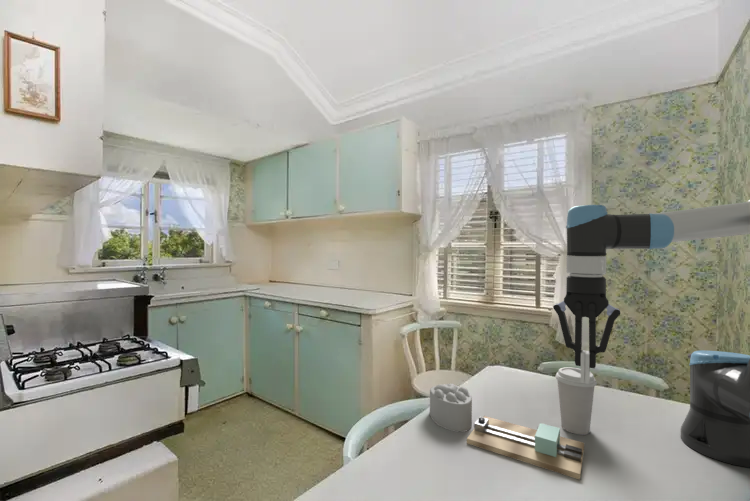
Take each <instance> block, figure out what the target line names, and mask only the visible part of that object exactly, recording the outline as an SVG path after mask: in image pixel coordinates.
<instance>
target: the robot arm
mask: <svg viewBox="0 0 750 501" xmlns="http://www.w3.org/2000/svg"><path fill="white" fill-rule="evenodd" d="M566 216H567V217H566V226H565V229H566V273H567V274H569V275H567V276H566V286H565V287H566V288H565V289H566V290H565V291H566V294H565V296H564V298H563V300H562V301H560V302H559V303H555V304H553V307H552V308H553V310H554V311H555V313H556V314H557V316H558V320H559V323H560V324H559V325H560V328H561V333H562V336H563V340H564V344H565V346H566V348H568V349H571V350H573V351H574V364H575V366H576V367H577V366H578V367H580V369H581V383H586V384H589V382H590V372H591V369H596V366H597V354H598V353H599V354H600V353H602V354H603V353H605V352H606V350H607V348H608V345H609V344H608V343H609V341H610V337H611V334H612V332H613V328H614V325H615V321H616V320H617V319H618V318H619V317H620V315H621V309H620V308H618V307H615V306H613V305H611V304H610V302H609V300H608V297H607V279H606V277H604V276H605V275H606V274H607V250H610V249H611V250H612V249H613V250H617V249H618V250H623V249H624V250H625V249H626V250H650V251H651V250H653V249H654V250H655V249H656V250H657V249H658V250H659V249H665V248H667V247H668V246H669V245H671V244H672V243H677V242H686V241H687V242H688V241H695V240H705V239H714V238H725V237H735V236H744V235H750V199H748V200H747V201H744V202H736V203H734V202H733V203H728V204H726V203H725V204H719V205H713V206H712V205H711V206H705V207H702V206H701V207H697V208H696V207H694V208H688V209H680V210H672V211H670V210H669V211H664V212H658V213H657V212H656V213H652V212H649V213H633V214H631V213H629V214H611V213H608V211H607V207H606V205H602V204H584V205H582V204H581V205H575V206H573V207H570V208H569V209H568V211H567V215H566ZM566 307H567V308H566ZM566 309H569V310H570V311H571V313H572V314H573V315H574V323H575V324H574V341H573V338H572V334H571V330H570V326H569V323H568V319H567V316H566V315H567V314H566ZM605 310H607V311H606V315H607V318H606V321H605V322H606V323H605V326H604V329H603V332H602V336H601V340H600V343H599V345H597V318H598V317H599V316H601V314H602V313H603V312H604V311H605ZM583 318H588V344H589V345H588V349H589V350H584V349H582V347H583V345H582V344H583ZM688 366H689V410H688V412H687V415H686V416H685V418H684V420H683V422H682V425H681V426H680V440H681V441H682V442H683V444H685V445H686V446H688V447H689V448H691V449H692V450H694V451H696V452H698V453H700V454H702V455H704V456H707V457H709V458H711V459H714V460H717V461H719V462H723V463H726V464H729V465H734V466H740V467H745V468H750V355H749V354H744V353H739V352H732V351H731V352H730V351H721V350H719V351H718V350H704V349H703V350H694V351H693V352H692V353H691V354H690V359H689V364H688Z"/></svg>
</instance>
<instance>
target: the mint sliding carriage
mask: <svg viewBox="0 0 750 501" xmlns="http://www.w3.org/2000/svg"><path fill="white" fill-rule="evenodd" d="M537 427H538V428H537V429H536V430H537V432H536V434H535V451H537V452H540V453H543V454H547V455H550V456H553V457H556V456H557V444H560V436H561V427H557V426H553V425H549V424H546V423H541V422H539V424H538V426H537Z"/></svg>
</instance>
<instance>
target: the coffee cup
mask: <svg viewBox="0 0 750 501" xmlns="http://www.w3.org/2000/svg"><path fill="white" fill-rule="evenodd" d="M554 378H555V379H556V380H557V390H558V400H559V413H560V421H561V422H560V424H561V425H560V426H561V428H563V429H564V431H566V432H568V433H571V434H575V435H578V436H579V435H580V436H582V435H585V436H586V435H589V433H590V430H591V420H592V414H593V405H594V404H593V402H594V394H595V387H596V386H597V384H598V383H597V380H596V378H595V376H594V374H593V373H592V372H591V371H590V382H589V384H586V383H581V368H579V367H578V368H577V367H571V366H568V367H567V366H566V367H561V368H558V371H557V372H556V374H555V377H554Z"/></svg>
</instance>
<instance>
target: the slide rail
mask: <svg viewBox="0 0 750 501" xmlns="http://www.w3.org/2000/svg"><path fill="white" fill-rule="evenodd" d="M473 426H474V429H473V430H475V431H478V432H482V433H487V434H490V435H494V436H497V437H501V438H504V439H507V440H511V441H514V442H517V443H521V444H524V445H527V446H531V447H534V448H535V443H533V442H535V437H531V436H528V435H524V434H521V433H517V432H514V431H510V430H507V429H503V428H499V427H496V426H492V425H489V419H487V418H483V416H479V417H478V418H477V419H476V421H475V422H474V424H473ZM487 428H488V429H487ZM489 429H491V430H489ZM492 430H495V431H498V432H495V431H492ZM499 432H502V433H505V434H502V433H499ZM506 434H509V435H512V436H509V435H506ZM513 436H516V437H519V438H516V437H513ZM520 438H523V439H526V440H530V441H533V442H530V441H526V440H523V439H520ZM557 449H561V450H564V451H561V450H557V454H558V455H561V456H564V457H565V458H569V459H572V460H576V461H579V462H581V455H582V449H581V448H577V447H574V446H570V445H567V444H566V446H563V445H560V444H557Z"/></svg>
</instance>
